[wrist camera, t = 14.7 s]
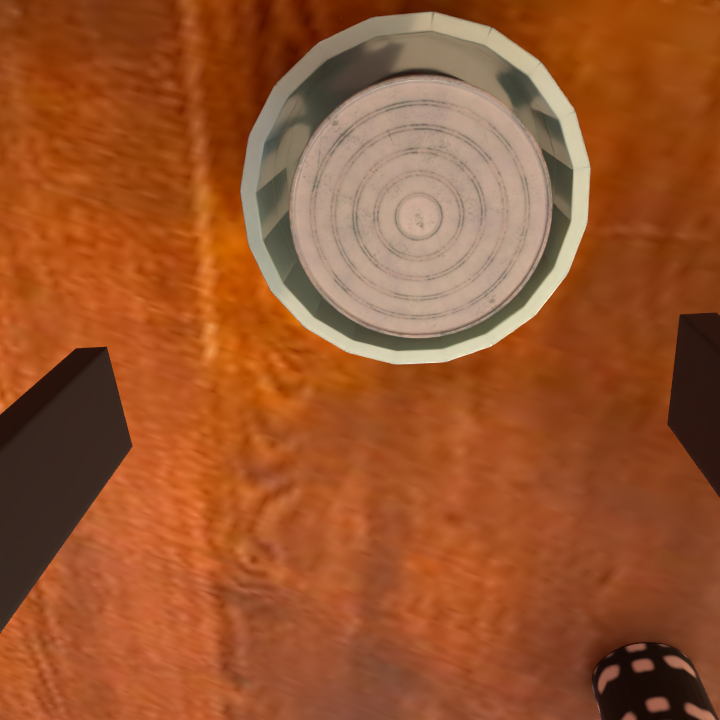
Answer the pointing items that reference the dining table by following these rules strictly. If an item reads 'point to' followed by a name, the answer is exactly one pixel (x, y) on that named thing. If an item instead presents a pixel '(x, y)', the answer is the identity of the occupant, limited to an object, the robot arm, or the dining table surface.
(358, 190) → the canned food
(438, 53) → the pot
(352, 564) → the dining table surface
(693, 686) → the white-spotted black cylinder
